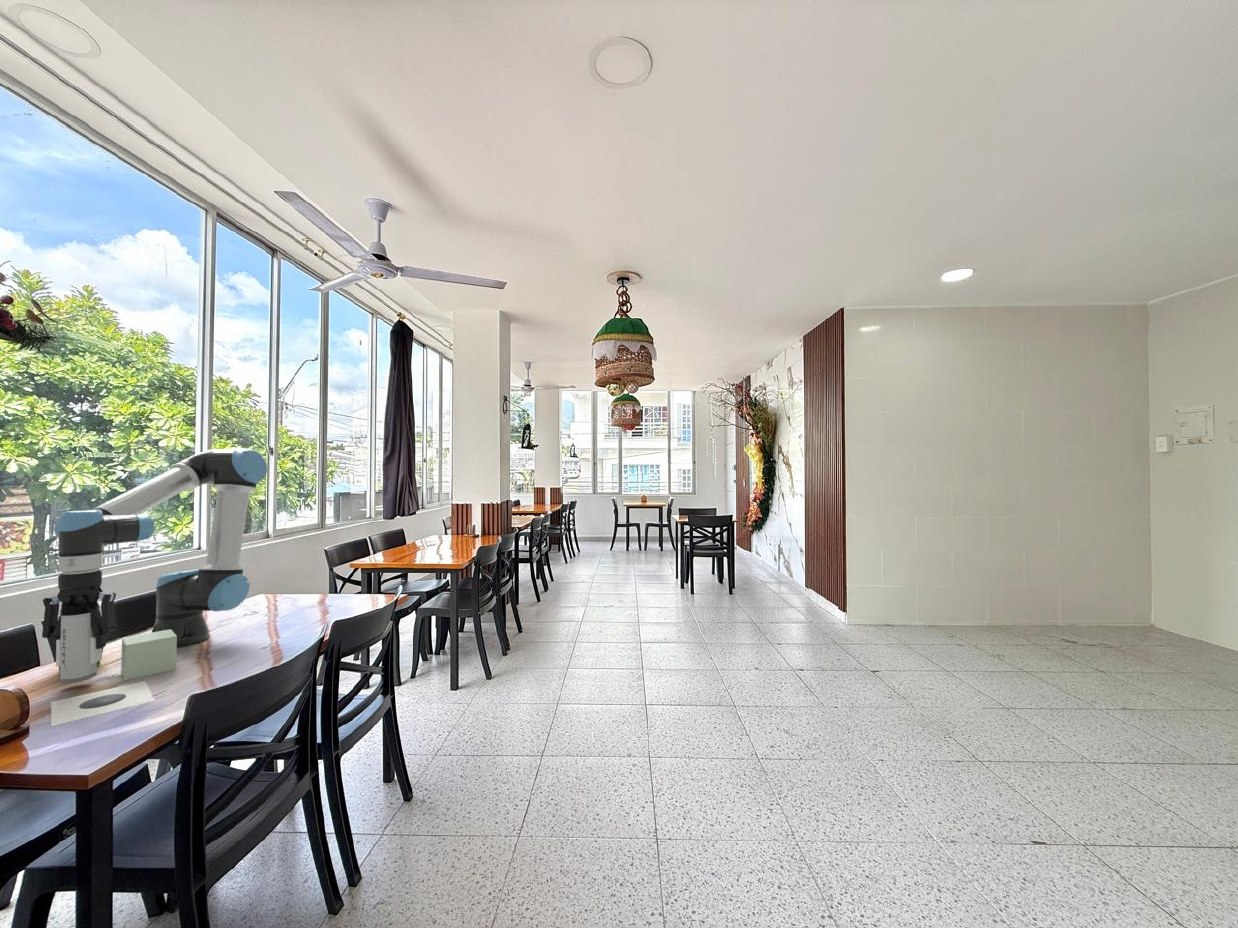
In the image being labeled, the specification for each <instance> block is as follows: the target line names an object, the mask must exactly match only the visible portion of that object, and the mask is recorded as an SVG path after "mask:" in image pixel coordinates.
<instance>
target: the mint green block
mask: <svg viewBox="0 0 1238 928" xmlns="http://www.w3.org/2000/svg"><path fill="white" fill-rule="evenodd" d="M151 632H152V631H151ZM151 632H146V633H143V634H136V635H134V634H133V635H130V636H129V635H128V636H124V637H121V657H120V659H121V661H120V663H121V665H120V675H121V676H122V677H123V679H124V681H128V680H133V679H138V678H142V677H147V676H151V675H155V674H160V673H165V672H170V671H174V670H176V669H177V648H178V647H177V636H176V634H175V633H174V632H173V631H172V630H171V629H170V630H164V631H158V632H152V633H151Z"/></svg>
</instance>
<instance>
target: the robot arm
mask: <svg viewBox="0 0 1238 928" xmlns="http://www.w3.org/2000/svg"><path fill="white" fill-rule="evenodd" d="M267 465H268V464H267V462H266V459H265V458H264V457H263V454H261V452H259V451H257V450H255V449H251V448H241V447H240V448H239V447H238V448H223V449H222V448H220V449H219V448H218V449H217V448H214V449H206V450H204V451H201V452H198V453H196V454H194V455H191V456H189V457H187V458H184V459H182V460H181V461H178V462H177V463H175V464H172V465H171V467H170V470H168V471H165V472H164V473H162V474H160V475H157V476H155V477H154V478H151V479H150V480H148V481H146V482H144V483H142V484H140V485H137V486H136V487H133V488H132V489H130V490H128V491H126V492H124V493H122V494H119V495H118V496H116V497H114V498H112V499H110V500H108V501H106V502H103V503H102V504H100V505H98V506H96V507H94V508H92V509H89V510H71V511H64V512H62V513H61V514H60V517H59V520H58V521H56V523H55V525H54V527H53V530H54V534H55V537H57V539H58V572H59V573H60V574H59V575H58V577H57V588H58V589H59V592H58V593H57V595H53V596H48V597H44V598H43V599H42V602H43V605H44V615H43V624H42V633H41V637H42V638H43V639H47V638H48V639H51V640H52V652H53V653H55V658H56V659H55V667H59V666H60V653H61V618H62V617H61V614H60V612H62V611H60V602H61V604H62V603H63V605H70V604H74V605H75V604H78V605H84V604H87V603H92V602H94V601H97V607H95V608H96V610H92V609H90V608H88V606H87V608H88V609H87V611H90V613H91V614H90V616H91V620H90V625H91V628H92V630H93V633H94V636H92V637H91V638H90V664H92V663H96V662H98V661H100V662H101V661H102V660H103V652H102V648H103V647H104V648H105V647H106V645H107V641H106V640H107V634H109V633H111V632H113V631H115V630H116V629H117V627H116V625H117V624H116V614H115V613H116V611H115V599H116V596H117V594H116V593H117V592H110V593H109V592H105V591H103V590H102V588H101V587H102V586H101V585H102V583H103V571H102V570H101V568H103V548H104V547H103V546H109V545H115V544H123V543H125V544H126V543H136V542H141V541H144V540H145V541H146V540H148V539H150V538H151V537H152V536H153V535H154V533H155V521H154V520H153V518H152V517H151V516H150V515H147V514H145V513H146V512H147V511H149V510H151V509H152V508H155V507H157V506H158V505H160V504H162V503H164V502H165V501H168V500H169V499H171V498H174V496H176V495H178V494H180V493H182V492H184V491H186V490H194V489H196V488H197V487H200V486H203V485H205V484H211V483H212V484H213V485H212V486H213V487H214V488H215V489H216V491H217V495H216V496H217V497H216V502H215V507H214V513H213V519H212V520H213V521H212V525H211V530H210V531H211V532H210V538H209V543H208V544H209V545H208V550H207V556H206V562H205V564H203V565H202V566H200V567H199V568H197V569H190V570H183V571H177V572H171V573H166V574H162V575H160V576H159V577H158V578H157V583H156V587H155V589H156V592H155V593H156V597H155V600H156V602H155V614H156V615H155V622H154V625H153V627H152V629H151V632H150V633H152V632H158V631H164V630H170V629H171V630H172V631H173V632H174V633H175V634H176V636H177V648H179V647H185V646H189V645H193V644H196V643H200V642H202V641H205V640H207V639H208V638H210V629H209V626H208V624H207V622H206V619H205V616H204V611H207V612H208V611H209V612H210V611H211V612H212V611H213V612H222V611H231V610H233V609H236V608H237V607H238V606H240V605H241V604H242V603H243V602H244V601H245V600H246V598H247V596H248V595H249V592H250V587H251V586H250V581H249V580H248V577H247V576H246V575H244V574H243V573H244V567H242V566H241V565H240V563H239V562H240V557H241V551H242V544H243V539H244V538H243V537H244V532H245V524H246V519H247V512H248V506H249V500H250V494H251V493H252V492H254V491H255V490H256V489H257V484H258V483H259V482H261V481H263V480H264V478H265V477H266V476H267V473H268V466H267ZM98 600H99V601H102V602H101V611H102V616H101V614H100V611H99V604H98ZM59 615H60V617H59ZM104 648H103V649H104Z"/></svg>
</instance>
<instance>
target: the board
mask: <svg viewBox="0 0 1238 928" xmlns="http://www.w3.org/2000/svg"><path fill="white" fill-rule="evenodd" d="M155 701H156V699H155V698H154V696H153V694H152V692H151V690H150V688H149V685H148V684H147V682H146V681H145V680H143V681H139V682H134V683H131V684H125V685H121V686H116V687H112V688H108V689H103V690H99V691H95V692H90V693H84V694H81V695H75V696H72V697H68V698H63V699H59V700H54V701H51V702H50V717H51V718H50V723H51V724H50V726H51V727H54V726H55V727H56V726H59V725H63V724H66V723H71V722H75V721H78V720H83V719H88V718H92V717H95V716H99V715H103V714H108V713H112V712H115V711H119V710H123V709H128V708H131V707H136V706H140V705H143V704H148V703H152V702H155Z"/></svg>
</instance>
